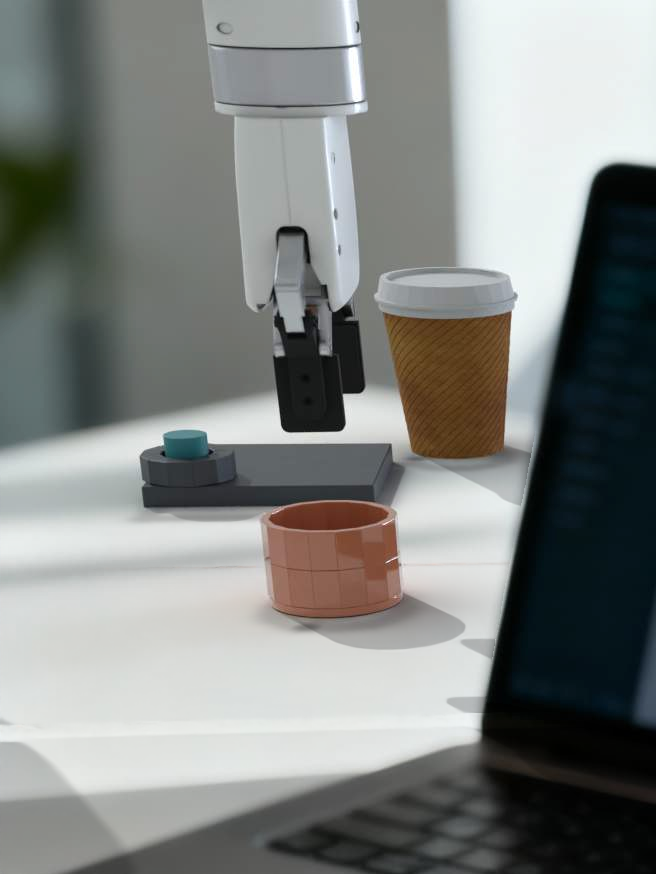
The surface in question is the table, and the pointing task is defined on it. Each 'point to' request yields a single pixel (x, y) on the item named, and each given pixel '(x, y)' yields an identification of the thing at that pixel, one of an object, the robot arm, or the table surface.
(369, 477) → the dark grey flat block
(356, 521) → the pink cylindrical container
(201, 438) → the button
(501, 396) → the disposable coffee cup
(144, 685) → the table surface
